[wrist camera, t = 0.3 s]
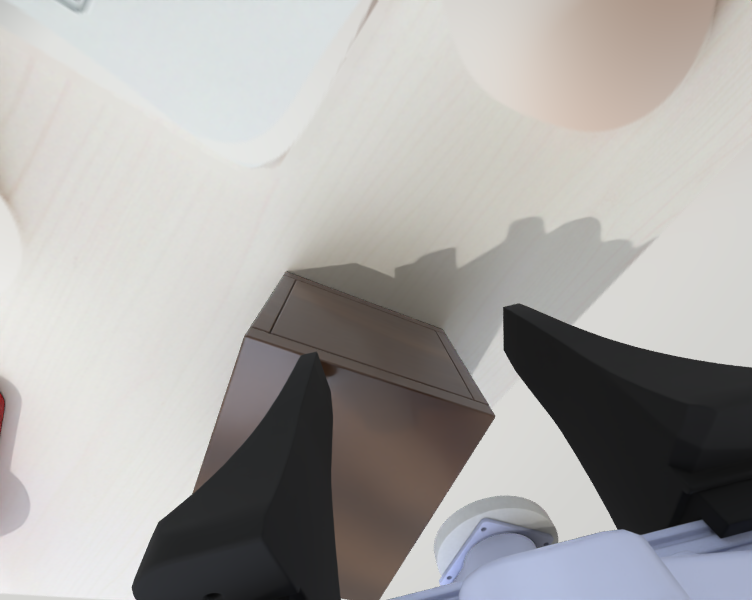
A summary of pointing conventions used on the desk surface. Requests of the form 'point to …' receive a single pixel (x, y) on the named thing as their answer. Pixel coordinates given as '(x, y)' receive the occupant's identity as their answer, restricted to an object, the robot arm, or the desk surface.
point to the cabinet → (362, 417)
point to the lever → (1, 410)
